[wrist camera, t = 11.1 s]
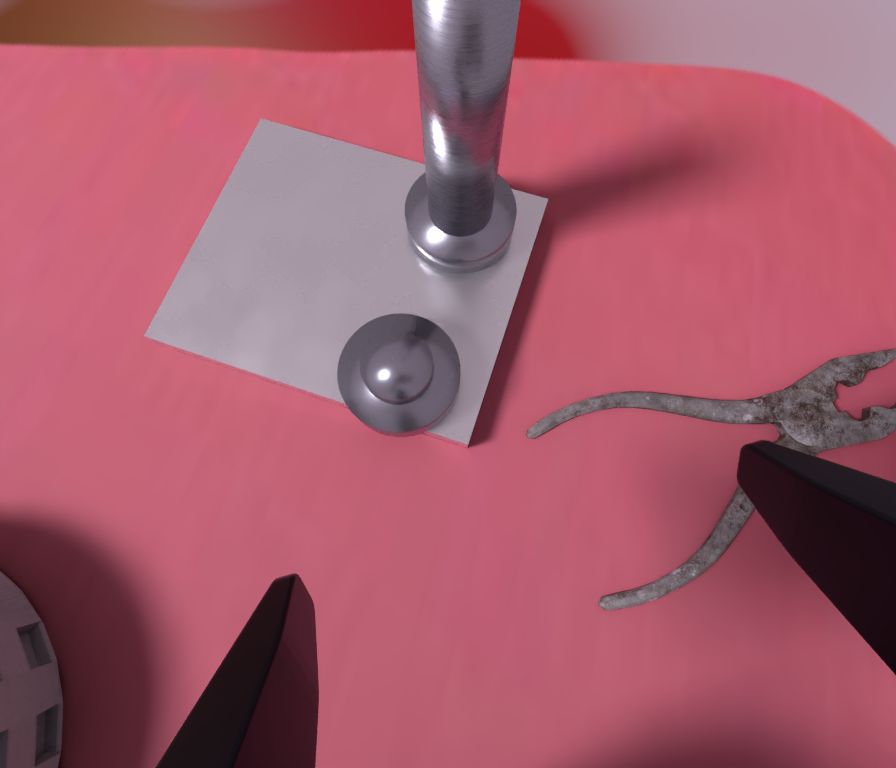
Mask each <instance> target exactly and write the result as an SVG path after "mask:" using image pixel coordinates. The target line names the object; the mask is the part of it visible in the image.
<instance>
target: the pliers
mask: <svg viewBox="0 0 896 768" xmlns="http://www.w3.org/2000/svg"><path fill="white" fill-rule="evenodd" d="M895 357H896V349H890V350H884V351H878V352H872V353H865V354H859V355H853V356H847V357H840V358H834V359H831V360H829V361H828V362H826V363H825V364H823V365H821V366H820V367H818V368H817V369H815V370H814V371H812V372H811V373H809V374H807V375H806V376H804V377H803V378H801V379H800V380H798V381H796V382H795V383H793V384H792V385H790V386H789V387H787V388H785V389H784V390H782V391H778V392H775V393H771V394H767V395H764V396H761V397H759V398H753V399H748V400H742V401H724V400H712V399H702V398H694V397H686V396H678V395H670V394H661V393H653V392H632V391H631V392H620V393H610V394H606V395H602V396H597V397H593V398H589V399H586V400H583V401H580V402H577V403H574V404H571V405H569V406H566V407H564V408H562V409H560V410H558V411H555V412H553V413H552V414H550V415H548V416H547V417H545V418H543V419H542V420H540V421H538V422H537V423H536V424H534V425H533V426H532V427H531V428H529V429H528V430H527V434H526V436H527V437H528V438H532V439H534V438H536V437H538V436H540V435H541V434H543V433H545V432H547V431H548V430H550V429H552V428H553V427H555V426H557V425H558V424H561V423H563V422H565V421H567V420H570V419H572V418H574V417H577V416H580V415H584V414H587V413H591V412H594V411H599V410H605V409H611V408H641V409H650V410H656V411H662V412H668V413H673V414H679V415H684V416H689V417H694V418H698V419H703V420H708V421H715V422H721V423H733V424H766V423H771V424H774V425H775V426H776V428H777V430H778V432H779V434H780V433H781V434H780V436H779V438H778V440H776V441H775V442H773V443H776V444H779V445H782V446H785V447H788V448H791V449H794V450H797V451H800V452H803V453H806V454H809V455H812V456H815V455H817V454H819V453H820V452H822V451H824V450H829V449H834V448H839V447H844V446H849V445H854V444H858V443H863V442H868V441H873V440H878V439H882V438H885V437H886V436H888V435H889V434H890V433H892V432H893V431H895V430H896V404H895V405H893V407H891V408H889V409H888V408H883V407H880V406H875V407H870V408H865V409H862V419H860V420H859V421H857V420H853V419H852V418H851V417H850V416H849V415H848V414H847V413H846V412H839V413H838V411H837V409H836V408H835V406H834V405H833V403H832V402H833V401H834V400H835V399H837V396H836V393H835V390H834V388H835V386H836V384H837V382H840V383H842V384H843V385H845V386H847V387H851V386H854V385H857V384H858V383H860V382H861V381H862V380H863V378H864V377H863V376H864V374H865V372H866V371H868V370H874V369H877V368H880V367H882V366H884V365H885V364H887V363H888V362H889V361H891V360H892V359H894V358H895ZM754 508H755V507H754V505H753V504H752V503H751V501H750V500H749V498H748V497H747V496H746V494H745V493H744V492H743V490H742V489H741V487H740V485H739V486H738V488H737V490H736V492H735V494H734V496H733V498H732V499H731V501H730V503H729V505H728V506H727V508H726V510H725V511H724V513H723V515H722V516H721V518H720V520H719V521H718V523H717V524H716V526H715V528H714V529H713V531H712V532H711V534H710V535H709V537H708V538H707V539H706V541H705V542H704V544H703V545H702V546H701V548H700V549H699V550H697V551H696V552H695V553H694V554H693V555H692V556H691V557H690V558H689V559H688V560H687V561H686V562H685V563H683V564H682V565H681V566H679V567H678V568H676V569H675V570H673V571H672V572H671V573H669V574H667V575H665V576H663V577H661V578H660V579H658V580H656V581H654V582H652V583H650V584H647V585H644V586H641V587H638V588H636V589H633V590H628V591H624V592H619V593H615V594H611V595H607V596H603V597H601V598H600V600H599V601H598V604H599V606H600V607H602V608H603V609H604V610H612V609H622V608H626V607H631V606H636V605H640V604H643V603H646V602H649V601H652V600H655V599H658V598H660V597H662V596H664V595H666V594H668V593H670V592H672V591H675V590H677V589H679V588H681V587H682V586H684V585H685V584H687V583H689V582H690V581H692V580H693V579H695V578H696V577H698V576H700V575H701V574H702V573H703V572H704V571H705V570H706V569H708V568H709V567H710V566H711V565H712V564H713V563H715V562H716V561H717V559H718V558H719V557H720V556H721V555H722V553H723V552H724V551H725V550H726V549H727V547H728V546H729V545H730V544H731V542H732V541H733V539H734V538H735V536H736V535H737V533H738V532H739V530H740V529H741V528H742V526H743V525H744V523H745V522H746V520H747V519H748V517H749V516H750V514H751V513H752V511H753V510H754Z"/></svg>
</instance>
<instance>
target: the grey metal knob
mask: <svg viewBox="0 0 896 768" xmlns="http://www.w3.org/2000/svg"><path fill="white" fill-rule="evenodd" d="M337 380H338V386H339V390H340V393H341V396H342V398H343V400H344V402H345V404H346V405H347V407H348V408H349V409H350V411H351V412H352V413H353V414H354V415H355V416H356V417H357V418H358V419H359V420H360V421H361V422H362V423H364V424H365V425H366V426H367V427H369V428H371V429H372V430H374V431H376V432H379V433H381V434H384V435H388V436H395V437H407V436H413V435H417V434H421V433H423V432H425V431H428V430H429V429H431V428H433V427H434V426H436V425H437V424H438V423H440V422H441V421H442V420H443V419H444V418H445V417H446V416H447V414H448V413H449V412H450V411H451V409H452V407H453V405H454V403H455V401H456V399H457V396H458V392H459V386H460V360H459V356H458V353H457V350H456V348H455V345H454V344H453V342H452V340H451V339H450V337H449V336H448V335H447V334H446V332H445V331H444V330H442V329H441V328H440V327H439V326H438V325H436V324H435V323H433V322H432V321H430V320H428V319H426V318H423V317H420V316H417V315H413V314H405V313H396V314H388V315H384V316H381V317H378V318H375V319H373V320H371V321H369V322H367V323H366V324H364V325H363V326H362V327H360V328H359V329H358V330H357V331H356V332H355V333H354V334H353V335H352V336H351V337H350V338H349V340H348V341H347V343H346V344H345V346H344V348H343V350H342V352H341V355H340V358H339V362H338V368H337Z"/></svg>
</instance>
